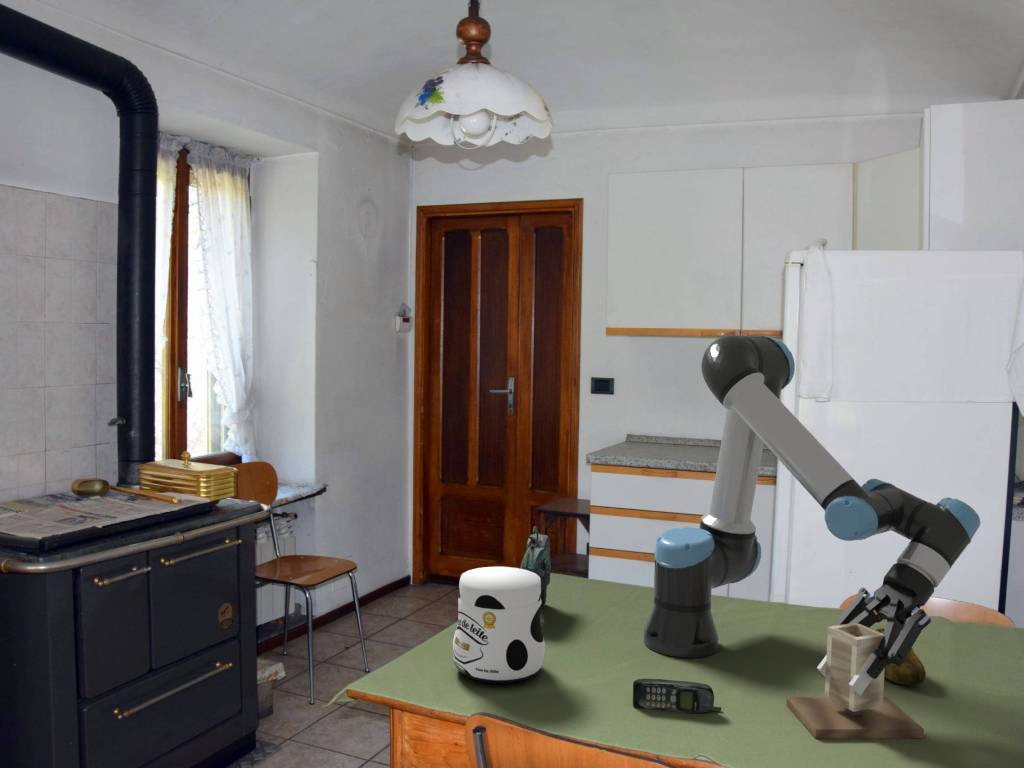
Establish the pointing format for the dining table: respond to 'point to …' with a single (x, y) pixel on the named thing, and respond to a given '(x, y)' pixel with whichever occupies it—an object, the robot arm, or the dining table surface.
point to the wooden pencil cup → (852, 666)
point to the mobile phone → (673, 696)
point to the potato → (906, 670)
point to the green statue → (538, 560)
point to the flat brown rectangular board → (853, 719)
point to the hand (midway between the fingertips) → (838, 681)
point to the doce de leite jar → (499, 625)
